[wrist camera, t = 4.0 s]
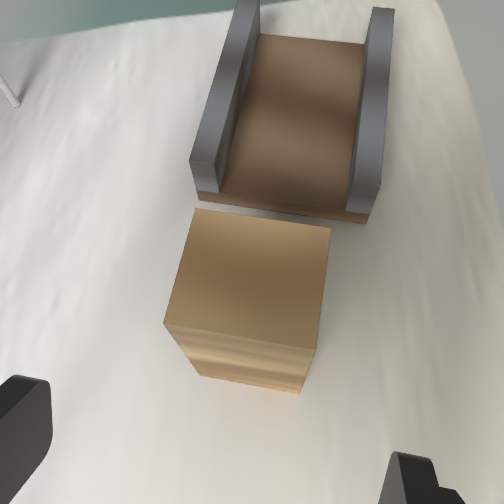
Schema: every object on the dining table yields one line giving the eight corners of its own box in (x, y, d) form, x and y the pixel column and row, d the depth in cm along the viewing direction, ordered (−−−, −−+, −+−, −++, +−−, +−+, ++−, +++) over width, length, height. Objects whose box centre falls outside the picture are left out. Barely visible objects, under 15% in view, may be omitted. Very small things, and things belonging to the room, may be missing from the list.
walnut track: (365, 224, 24) (380, 185, 20) (199, 200, 25) (188, 160, 21) (381, 59, 29) (394, 9, 26) (242, 45, 30) (239, -6, 27)
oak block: (299, 394, 20) (315, 350, 13) (200, 375, 21) (162, 323, 13) (311, 308, 22) (331, 227, 15) (219, 293, 22) (195, 208, 15)
